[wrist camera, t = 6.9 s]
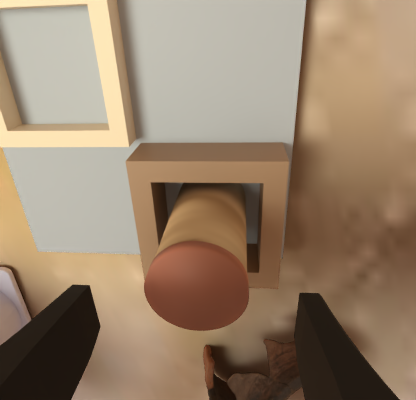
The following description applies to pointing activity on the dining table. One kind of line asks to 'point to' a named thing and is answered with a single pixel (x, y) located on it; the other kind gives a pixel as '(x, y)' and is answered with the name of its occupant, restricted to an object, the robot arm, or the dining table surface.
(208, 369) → the brown curved piece
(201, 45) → the mount
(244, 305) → the pin
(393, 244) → the dining table surface
